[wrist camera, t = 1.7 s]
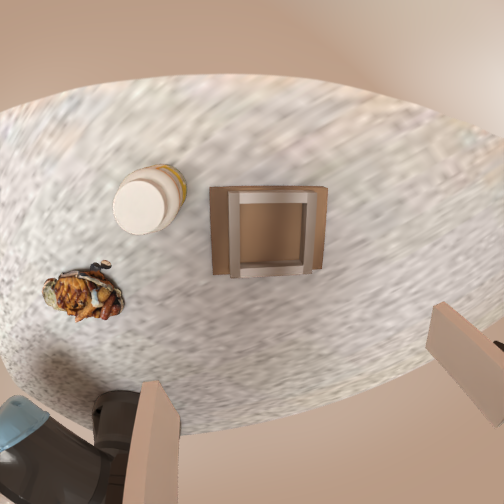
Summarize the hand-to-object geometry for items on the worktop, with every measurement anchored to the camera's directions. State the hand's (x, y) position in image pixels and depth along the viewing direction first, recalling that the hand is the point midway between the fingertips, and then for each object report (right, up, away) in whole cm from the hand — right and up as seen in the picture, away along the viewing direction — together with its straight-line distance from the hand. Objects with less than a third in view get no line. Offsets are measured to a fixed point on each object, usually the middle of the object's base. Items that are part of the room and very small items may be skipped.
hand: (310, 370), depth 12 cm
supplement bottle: (-12, +12, +17) cm, 23 cm away
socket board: (-1, +8, +19) cm, 21 cm away
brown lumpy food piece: (-24, 0, +20) cm, 31 cm away
